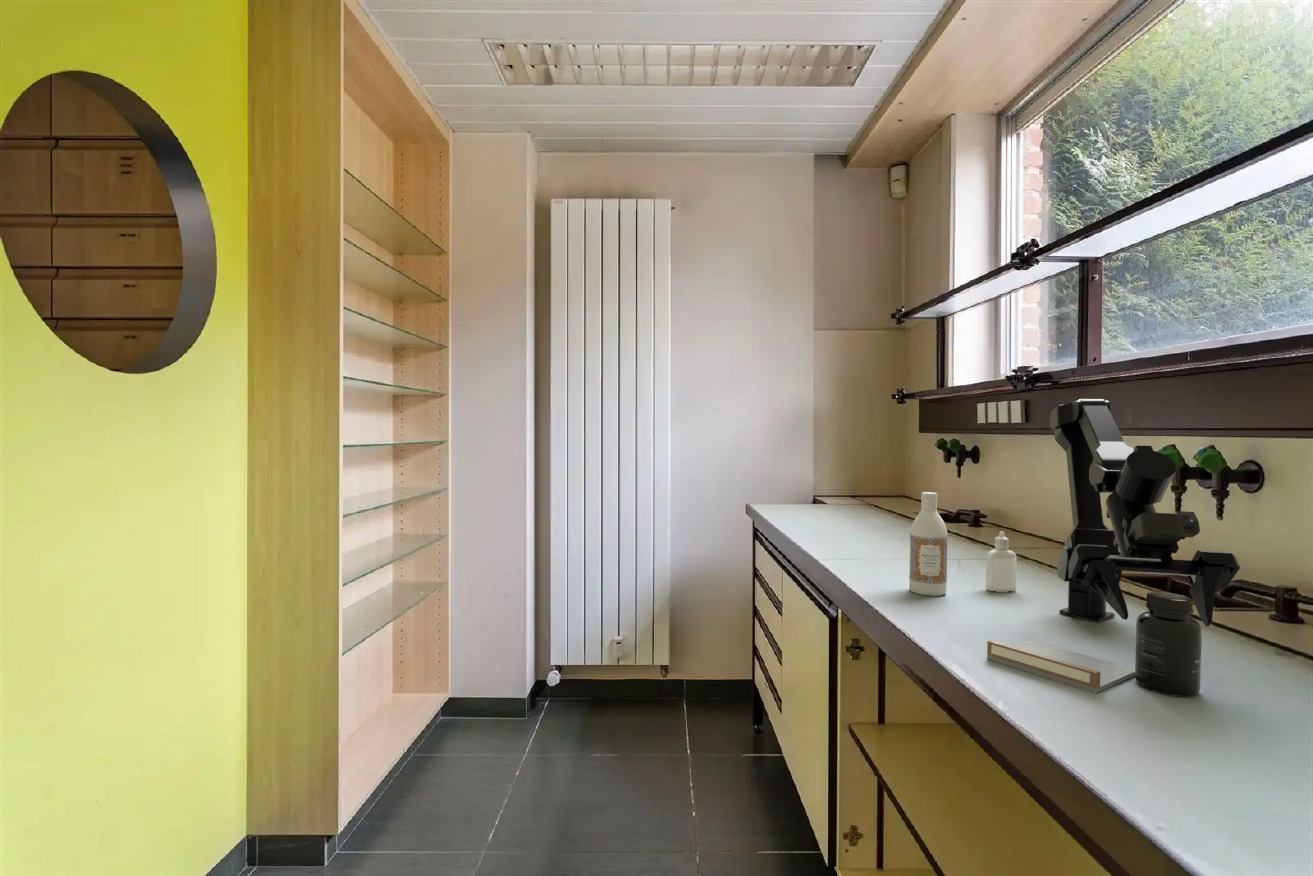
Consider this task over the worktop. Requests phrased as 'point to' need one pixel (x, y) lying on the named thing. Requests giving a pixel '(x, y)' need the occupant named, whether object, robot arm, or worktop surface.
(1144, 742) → the worktop surface
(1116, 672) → the shelf board
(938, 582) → the bath foam
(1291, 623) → the worktop surface
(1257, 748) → the worktop surface
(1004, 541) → the eye dropper bottle
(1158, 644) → the supplement bottle
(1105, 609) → the robot arm
